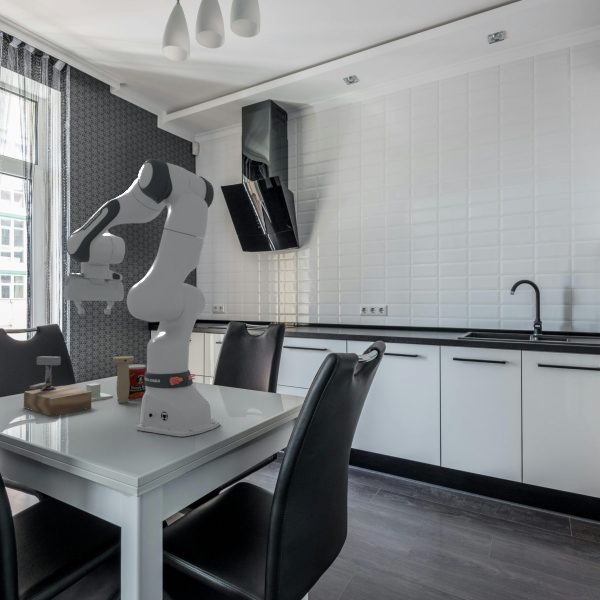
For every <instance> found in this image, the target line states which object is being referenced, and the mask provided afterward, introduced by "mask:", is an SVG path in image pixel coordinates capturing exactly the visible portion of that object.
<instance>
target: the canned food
mask: <svg viewBox="0 0 600 600" xmlns="http://www.w3.org/2000/svg"><path fill="white" fill-rule="evenodd" d="M146 371H147V364H139V363H138V364H136V363H135V364H134V363H133V364H129V383H130V384H129V385H130V386H129V387H130V388H129V396H128V398H129V399H128V400H140V398H141V399H142V398H143V395H144V393H145V390H146V385H145V372H146Z"/></svg>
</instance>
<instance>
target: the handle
mask: <svg viewBox="0 0 600 600" xmlns="http://www.w3.org/2000/svg"><path fill="white" fill-rule="evenodd" d="M134 360H135V357H134V355H133V356H132V355H131V356H130V355H129V356H128V355H127V356H126V355H125V356H116V357H115V356H114V357H112V362H113V363H115V364H117V375H116V376H117V377H116V397H117V398H116V400H117V403H118V404H126V403H128V402H129V400H130V399H129V398H128V396H129V388H130V387H129V386H130V385H129V384H130V383H129V365H130V364H131V363H132V362H134Z"/></svg>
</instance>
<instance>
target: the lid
mask: <svg viewBox="0 0 600 600" xmlns="http://www.w3.org/2000/svg"><path fill="white" fill-rule="evenodd" d="M85 387H86V389H85V391H90V392H92V393H91V403H93V402H97V400H98V401H103V400H107V398H108V399H112V398H111V397H114V395H113V394H108V393H105V392H101V384H100V383H97V382H96V383H95V382H94V383H88V384H86V386H85ZM102 399H103V400H102Z"/></svg>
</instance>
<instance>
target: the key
mask: <svg viewBox="0 0 600 600" xmlns="http://www.w3.org/2000/svg"><path fill="white" fill-rule="evenodd" d="M61 360H62V359H61V356H51V355H50V356H47V355H46V356H44V355H42V356H41V355H40V356H37V357H36V365H37V366H38V365H39V366H45V381H44V382H40V383H37V384H33V385H29V389H30V390H31V389H32V390H39V389H42V390H51V389H54V387H55V386H53V385H52V384H53V383H52V366H60V365H61V362H62V361H61Z"/></svg>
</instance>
